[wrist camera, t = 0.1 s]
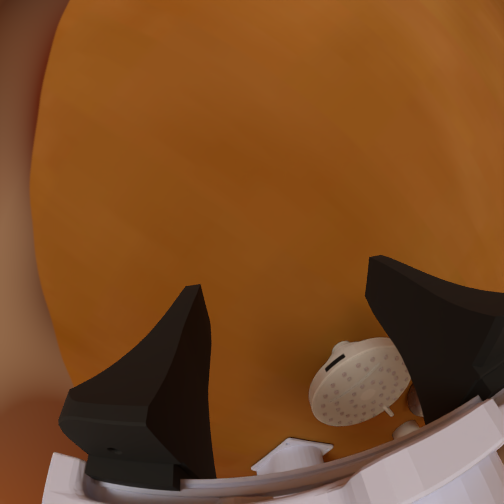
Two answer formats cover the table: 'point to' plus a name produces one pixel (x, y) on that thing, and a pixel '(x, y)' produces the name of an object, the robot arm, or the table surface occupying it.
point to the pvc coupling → (405, 429)
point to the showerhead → (358, 382)
